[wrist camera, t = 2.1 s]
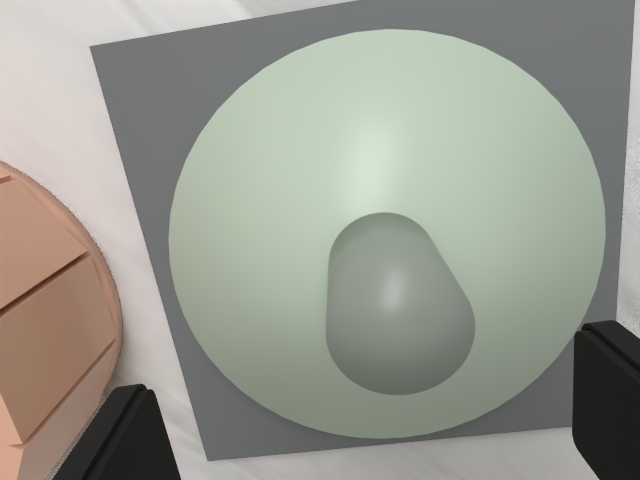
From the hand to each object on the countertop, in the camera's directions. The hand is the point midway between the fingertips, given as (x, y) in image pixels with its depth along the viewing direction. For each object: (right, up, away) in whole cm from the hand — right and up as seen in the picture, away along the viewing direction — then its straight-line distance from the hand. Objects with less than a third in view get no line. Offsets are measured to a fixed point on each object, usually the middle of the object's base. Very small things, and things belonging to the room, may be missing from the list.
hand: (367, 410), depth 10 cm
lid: (+1, +3, +8) cm, 8 cm away
